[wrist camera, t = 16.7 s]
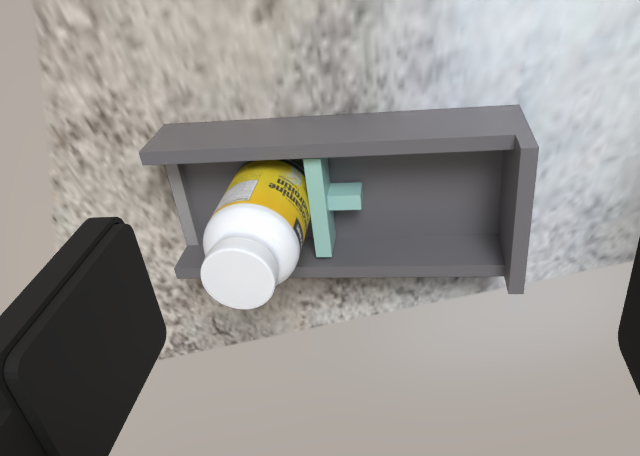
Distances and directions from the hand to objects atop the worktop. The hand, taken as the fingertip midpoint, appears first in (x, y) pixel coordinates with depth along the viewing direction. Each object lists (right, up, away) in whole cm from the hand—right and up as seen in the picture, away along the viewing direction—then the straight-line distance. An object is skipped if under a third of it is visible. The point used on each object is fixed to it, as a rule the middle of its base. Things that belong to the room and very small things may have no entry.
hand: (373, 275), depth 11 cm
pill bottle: (-5, +4, +34) cm, 34 cm away
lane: (0, +4, +33) cm, 34 cm away
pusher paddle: (0, +4, +32) cm, 33 cm away
